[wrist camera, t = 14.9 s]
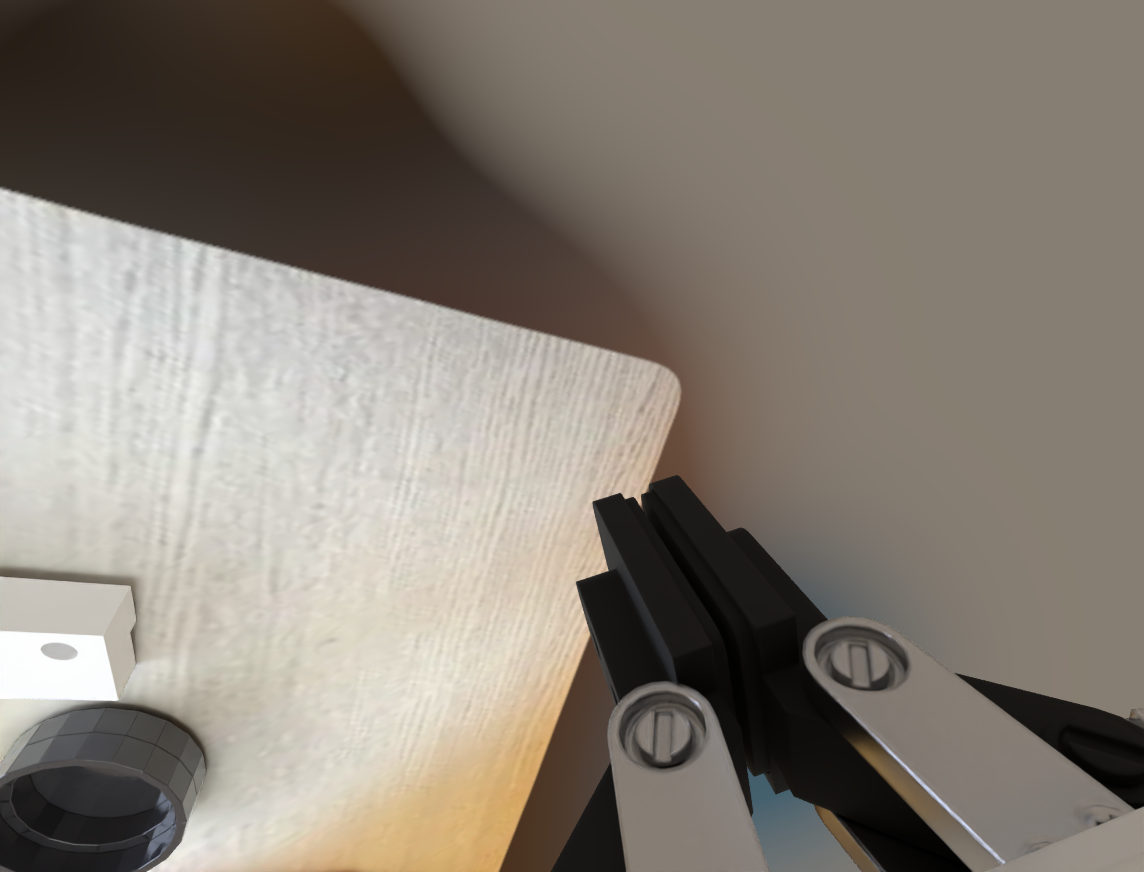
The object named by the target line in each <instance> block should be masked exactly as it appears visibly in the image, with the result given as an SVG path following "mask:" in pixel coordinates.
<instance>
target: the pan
mask: <svg viewBox="0 0 1144 872" xmlns="http://www.w3.org/2000/svg"><path fill="white" fill-rule="evenodd" d="M205 775H206V767H205V762H204V757H203V753H202V751H201V750H200V748H199V747H198V746H197V744H196V743H195V742H194V740H193V739H192V738H191V736H190V735H189V734H187V733H186V732H184V731H183V730H181V729H180V728H178V727H177V726H175V725H174V724H172V723H171V722H169V721H167V720H164V719H161V718H158V717H155V716H152V715H149V714H146V713H143V712H139V711H133V710H123V709H114V708H98V709H88V710H78V711H74V712H69V713H66V714H63V715H60V716H57V717H54V718H51V719H48V720H45V721H42V722H41V723H39V724H38V725H36V726H35V727H33V728H32V729H30V730H29V731H27V732H26V733H24V734H22V735H21V736H20V737H19V738H18V740H17V741H16V742H15V744H14V745H13V746H12V748H11V749H10V750H9V752H8V753H7V754H6V756H5V757H4V758H3V760H2V761H1V763H0V872H147V871H148V870H150V869H152V868H153V867H155V866H156V865H158V864H159V863H161V862H162V861H164V860H166V859H167V858H168V857H169V856H170V854H171V853H172V852H173V851H174V850H175V849H176V847H177V846H178V845H179V844H180V843H181V841H182V839H183V836H184V834H185V831H186V828H187V826H188V823H189V820H190V818H191V815H192V812H193V810H194V807H195V805H196V802H197V799H198V797H199V794H200V791H201V789H202V785H203V782H204V778H205Z"/></svg>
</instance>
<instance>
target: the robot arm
mask: <svg viewBox="0 0 1144 872" xmlns="http://www.w3.org/2000/svg"><path fill="white" fill-rule="evenodd" d="M641 501H642V506H643V510H642V509H641V507H640V505H639V504H638V502H637V501H636V499H635V498H634V497H631V498H628V499H624V497H623V495H622V494H621V493H618V494H615V495H612V496H609V497H606V498H603V499H599V500H596V501H593V509H594V513H595V518H596V522H597V526H598V530H599V534H600V538H601V542H602V546H603V550H604V554H605V558H606V562H607V566H608V570H609V571H607V572H604V573H601V574H598V575H595V576H592V577H589V578H586V579H583V580H580V581H577V582H576V585H577V589H578V593H579V596H580V600H581V603H582V607H583V611H584V614H585V617H586V621H587V624H588V627H589V631H590V634H591V637H592V640H593V643H594V646H595V650H596V652H597V656H598V658H599V661H600V664H601V667H602V670H603V672H604V676H605V679H606V681H607V684H608V687H609V690H610V693H611V696H612V698H613V701H614V704H615V708H614V710H613V712H612V715H611V717H610V720H609V723H608V744H609V752H610V758H611V763H610V764H609V766H608V768H607V770H606V772H605V773H604V775H603V778H602V779H601V781H600V783H599V784H598V786H597V788H596V790H595V792H594V794H593V795H592V798H591V799H590V801H589V803H588V805H587V806H586V808H585V810H584V812H583V814H582V816H581V818H580V819H579V821H578V823H577V825H576V827H575V828H574V830H573V832H572V834H571V836H570V838H569V840H568V841H567V843H566V845H565V847H564V849H563V850H562V852H561V854H560V856H559V858H558V860H557V862H556V863H555V865H554V867H553V869H552V871H551V872H770V871H769V868H768V865H767V862H766V860H765V857H764V854H763V851H762V848H761V845H760V842H759V839H758V836H757V833H756V830H755V827H754V824H753V821H752V818H751V817H752V814H753V808H752V801H751V793H750V786H749V779H748V773H747V767H748V769H749V770H750V772H751V773H752V775H753V776H758V775H760V774H763V773H764V774H765V776H766V778H767V780H768V782H769V783H770V785H771V787H772V789H773V791H774V792H775V794H778V793H781V792H783V791H786V790H788V789H790V790H791V792H792V794H793V795H794V797H797V798H799V799H802V800H804V801H807V802H809V803H812V804H814V806H815V810H816V812H817V813H818V815H819V817H820V818H821V820H822V822H823V823H824V825H825V826H826V827H827V828H828V830H829V831H830V832H831V834H832V835H833V836H834V837H835V839H836V840H837V841H838V842H839V844H840V845H841V846H842V847H843V849H844V850H845V851H846V853H847V854H848V855H849V856H850V857H851V859H852V860H853V861H854V863H855V864H856V865H857V866H858V868H859V869H860V870H861V872H1144V708H1138V709H1132V710H1131V714H1130V717H1129V718H1127V719H1124V718H1122V717H1120V716H1117V715H1114V714H1111V713H1108V712H1105V711H1102V710H1099V709H1096V708H1093V707H1089V706H1085V705H1080V704H1077V703H1072V702H1068V701H1064V700H1060V699H1057V698H1053V697H1049V696H1045V695H1041V694H1036V693H1033V692H1029V691H1025V690H1021V689H1017V688H1013V687H1009V686H1004V685H1001V684H997V683H993V682H989V681H985V680H981V679H977V678H973V677H969V676H965V675H961V674H957V673H953V672H952V671H951V670H949V669H948V668H947V667H945V666H944V665H943V664H941V663H940V662H939V661H937V660H936V659H935V658H933V657H932V656H931V655H929V654H928V653H927V652H925V651H924V650H923V649H921V648H920V647H919V646H917V645H916V644H915V643H913V642H912V641H911V640H909V639H908V638H907V637H906V636H904V635H903V634H902V633H900V632H898V631H896V630H895V629H893V628H891V627H890V626H888V625H886V624H884V623H881V622H878V621H875V620H872V619H868V618H861V617H853V616H850V617H838V618H833V619H830V620H828V619H827V618H826V617H825V616H824V615H823V614H822V613H821V612H820V611H819V609H818V608H817V607H816V606H815V605H814V604H813V603H812V602H811V601H810V600H809V598H808V597H807V596H806V595H805V594H804V593H803V592H802V591H801V590H800V589H799V587H798V586H797V585H796V584H795V583H794V582H793V581H792V580H791V578H790V577H789V576H788V575H787V574H786V573H785V572H784V571H783V570H782V569H781V567H780V566H779V565H778V564H777V563H776V562H775V561H774V560H773V559H772V557H770V555H769V554H768V553H767V552H766V551H765V550H764V549H763V547H762V546H761V545H760V544H759V543H758V542H757V541H756V540H755V539H754V537H753V536H752V535H751V534H750V533H749V532H748V531H747V530H745V529H744V528H738V529H735V530H732V531H729V532H726V531H725V530H724V529H723V528H722V526H721V525H720V524H719V523H718V522H717V520H716V519H715V518H714V517H713V516H712V514H711V513H710V512H709V511H708V510H707V509H706V508H705V506H704V505H703V504H702V502H701V501H700V500H699V499H698V498H697V496H696V495H695V494H694V493H693V492H692V491H691V489H690V488H689V487H688V486H687V485H686V483H685V482H684V481H683V480H682V479H681V478H680V477H679V476H678V475H675V476H672V477H669V478H666V479H663V480H660V481H657V482H654V483H650V484H649V492H647V493H644V494H642V495H641ZM643 511H644V512H643Z"/></svg>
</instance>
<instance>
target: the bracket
mask: <svg viewBox="0 0 1144 872" xmlns="http://www.w3.org/2000/svg"><path fill="white" fill-rule="evenodd" d="M135 622H136V614H135V609H134V603H133V597H132V592H131V586H124V585H110V584H96V583H82V582H68V581H54V580H40V579H25V578H11V577H0V698H9V699H57V700H105V701H119V699H120V696H121V694H122V692H123V690H124V688H125V686H126V684H127V682H128V680H129V678H130V675H131V673H132V671H133V669H134V667H135V665H136V661H135V656H134V650H133V645H132V640H131V635H130V632H131V630H132V628H133V626H134V624H135Z"/></svg>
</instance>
